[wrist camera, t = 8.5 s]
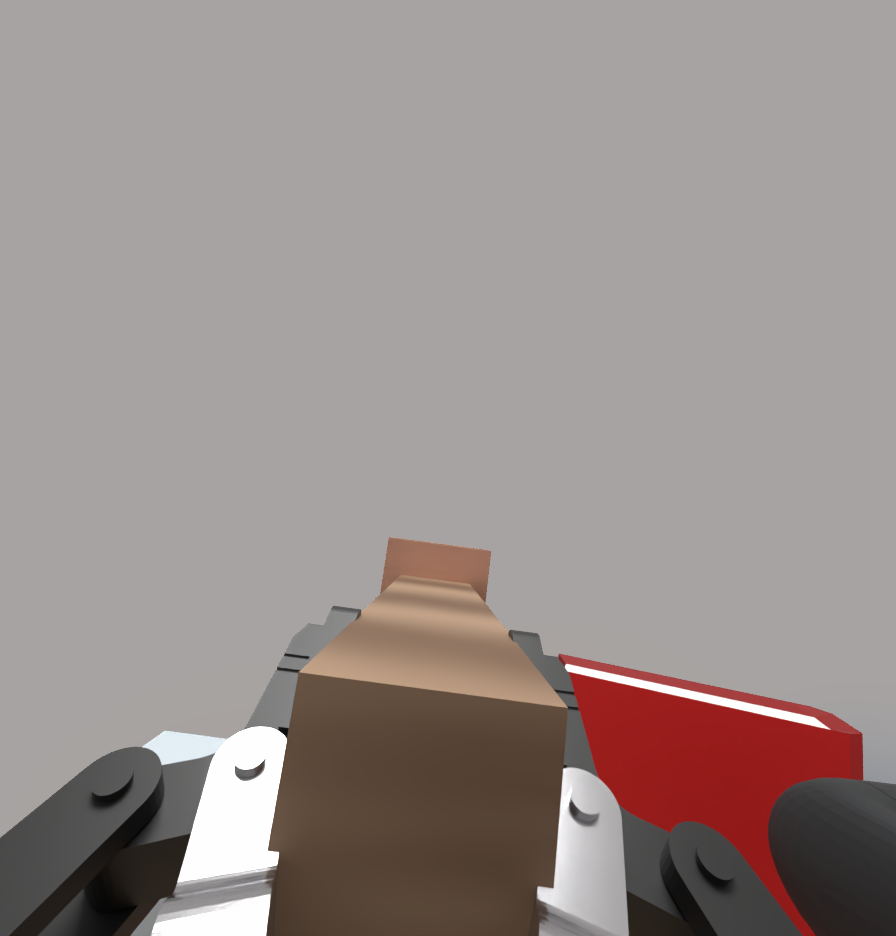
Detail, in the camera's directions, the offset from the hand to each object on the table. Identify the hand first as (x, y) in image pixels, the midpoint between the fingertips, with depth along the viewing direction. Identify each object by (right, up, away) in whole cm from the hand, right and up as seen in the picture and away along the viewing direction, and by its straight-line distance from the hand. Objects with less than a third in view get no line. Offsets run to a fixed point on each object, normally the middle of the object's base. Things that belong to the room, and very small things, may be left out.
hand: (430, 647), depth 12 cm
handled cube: (-1, -4, +6) cm, 8 cm away
